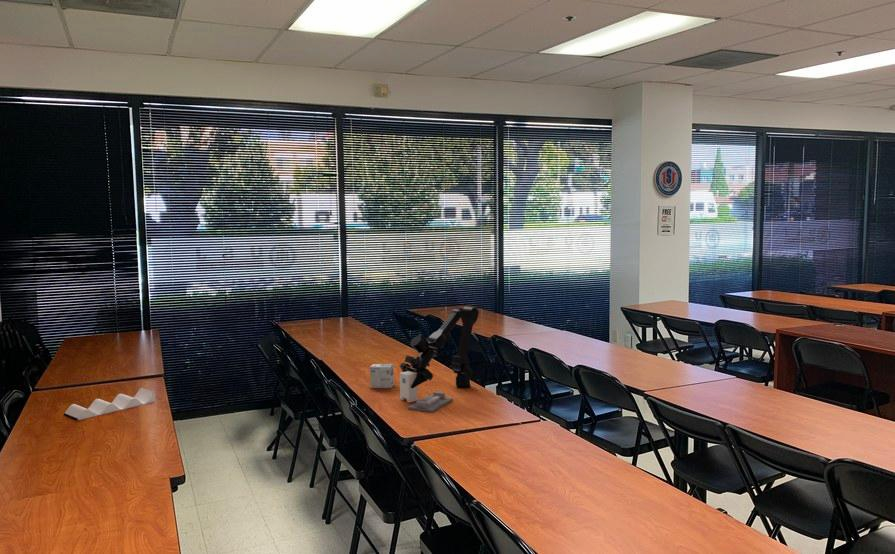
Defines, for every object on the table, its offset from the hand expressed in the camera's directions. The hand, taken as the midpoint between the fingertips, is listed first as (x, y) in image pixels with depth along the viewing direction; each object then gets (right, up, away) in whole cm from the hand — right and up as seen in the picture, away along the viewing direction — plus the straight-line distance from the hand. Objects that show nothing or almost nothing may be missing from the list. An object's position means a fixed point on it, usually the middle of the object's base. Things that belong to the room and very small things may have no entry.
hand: (406, 386), depth 306 cm
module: (+1, -6, +2) cm, 7 cm away
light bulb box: (-13, -4, +26) cm, 29 cm away
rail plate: (+11, -7, -6) cm, 15 cm away
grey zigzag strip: (-133, -10, -5) cm, 133 cm away
